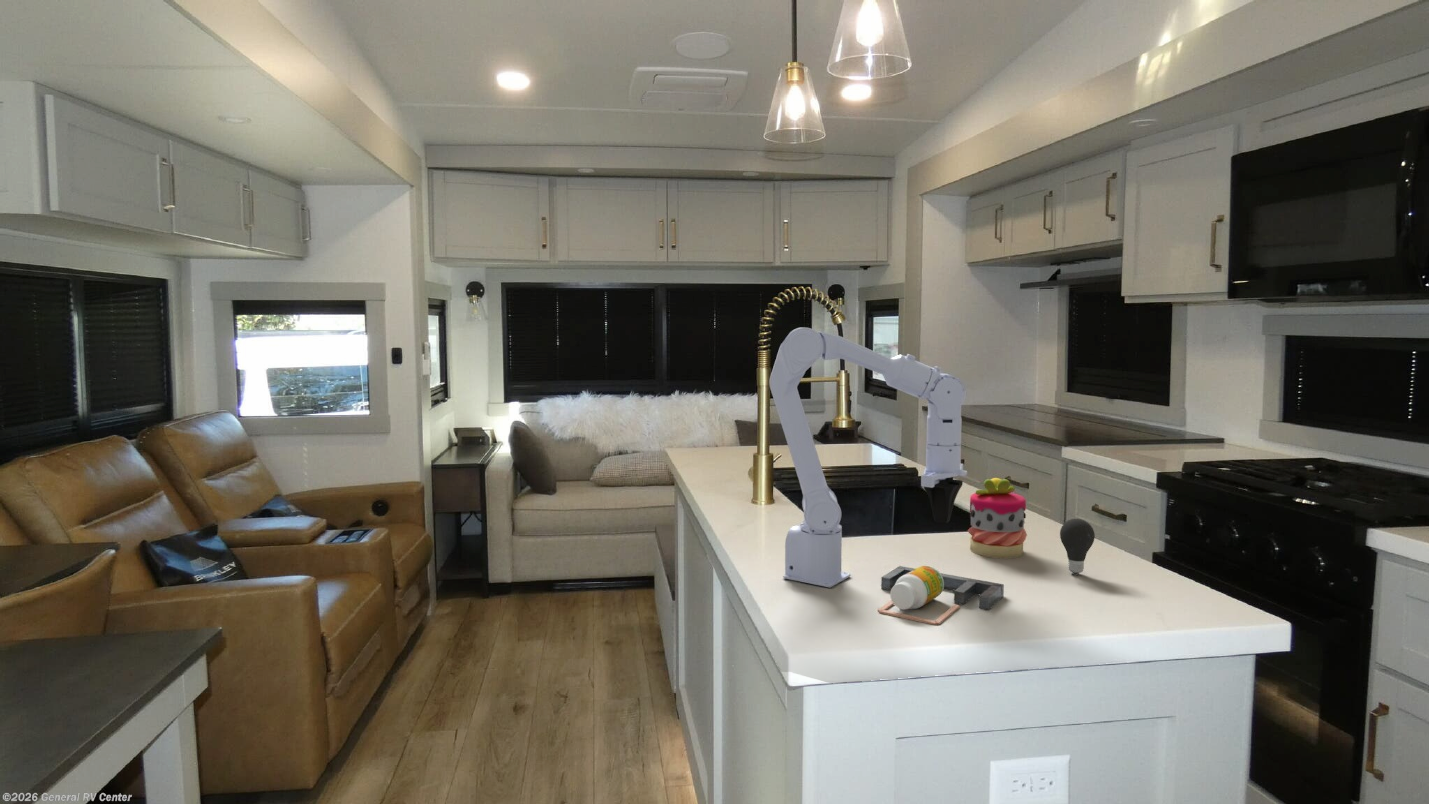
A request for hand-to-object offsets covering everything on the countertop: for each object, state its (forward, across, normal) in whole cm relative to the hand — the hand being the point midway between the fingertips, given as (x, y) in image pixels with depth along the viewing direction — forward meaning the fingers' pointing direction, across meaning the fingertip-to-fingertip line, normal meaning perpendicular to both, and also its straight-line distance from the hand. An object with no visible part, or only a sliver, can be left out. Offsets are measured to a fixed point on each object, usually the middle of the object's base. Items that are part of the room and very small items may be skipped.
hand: (941, 521), depth 140 cm
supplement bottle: (+8, -9, -2) cm, 12 cm away
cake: (+11, +24, -2) cm, 26 cm away
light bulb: (+11, +17, -18) cm, 27 cm away
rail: (+10, -7, -2) cm, 13 cm away
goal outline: (+10, -16, -2) cm, 19 cm away
